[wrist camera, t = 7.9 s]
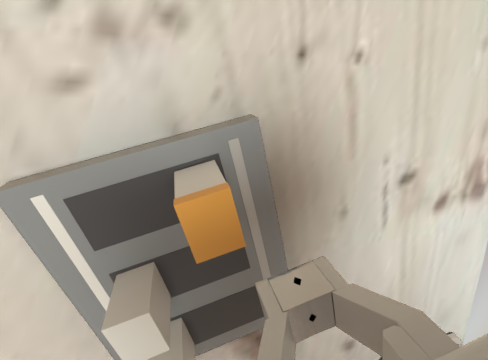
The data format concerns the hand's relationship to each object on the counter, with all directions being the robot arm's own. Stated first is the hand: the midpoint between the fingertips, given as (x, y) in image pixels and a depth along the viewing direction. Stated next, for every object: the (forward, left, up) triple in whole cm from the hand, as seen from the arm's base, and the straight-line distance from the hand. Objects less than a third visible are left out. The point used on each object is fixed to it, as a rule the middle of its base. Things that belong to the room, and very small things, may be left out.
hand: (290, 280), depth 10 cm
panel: (+6, +7, -13) cm, 16 cm away
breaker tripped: (+2, 0, -10) cm, 11 cm away
